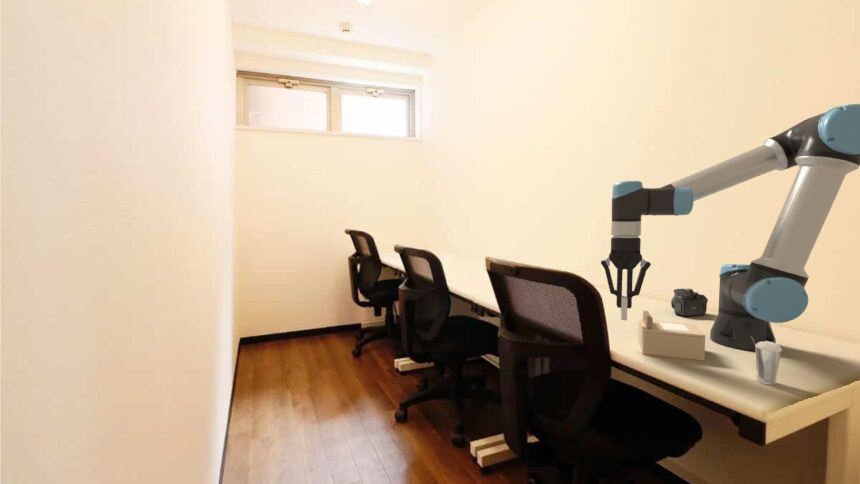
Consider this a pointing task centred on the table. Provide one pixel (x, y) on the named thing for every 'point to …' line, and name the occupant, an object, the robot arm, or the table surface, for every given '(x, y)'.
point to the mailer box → (671, 345)
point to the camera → (688, 302)
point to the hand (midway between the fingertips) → (623, 318)
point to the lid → (669, 327)
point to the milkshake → (767, 362)
